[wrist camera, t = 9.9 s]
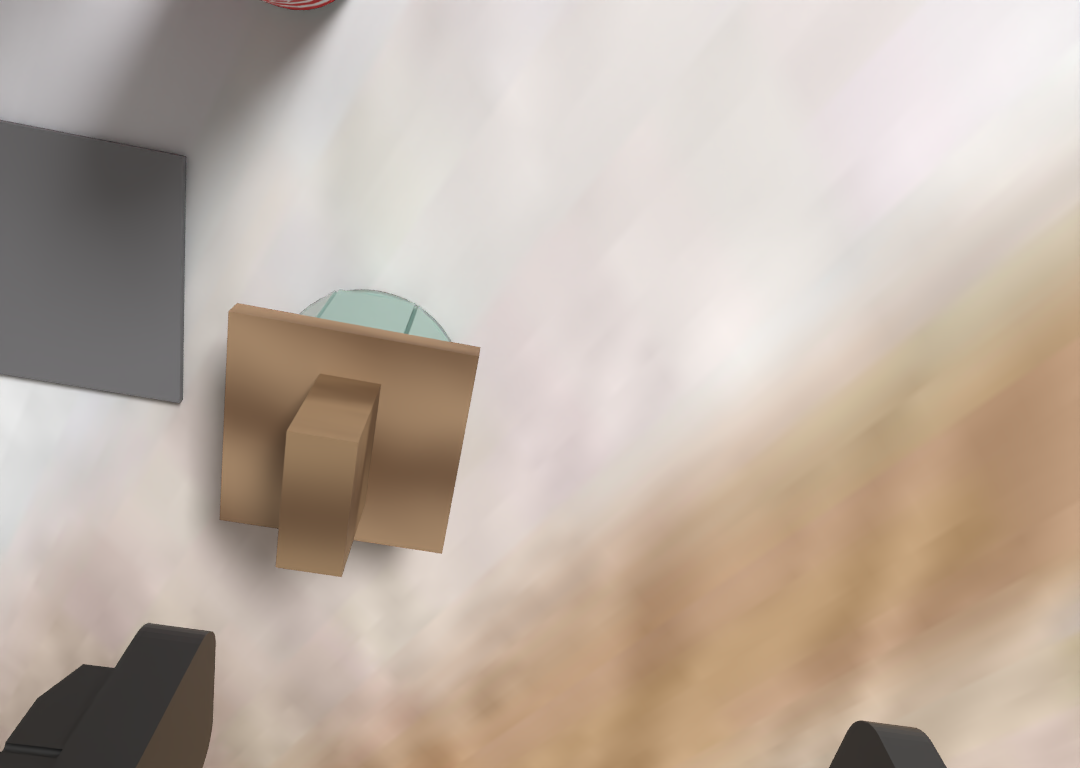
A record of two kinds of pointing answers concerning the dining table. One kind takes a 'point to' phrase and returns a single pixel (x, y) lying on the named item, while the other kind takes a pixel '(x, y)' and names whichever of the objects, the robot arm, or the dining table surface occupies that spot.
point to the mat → (91, 262)
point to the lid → (340, 434)
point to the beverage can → (299, 4)
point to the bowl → (377, 313)
